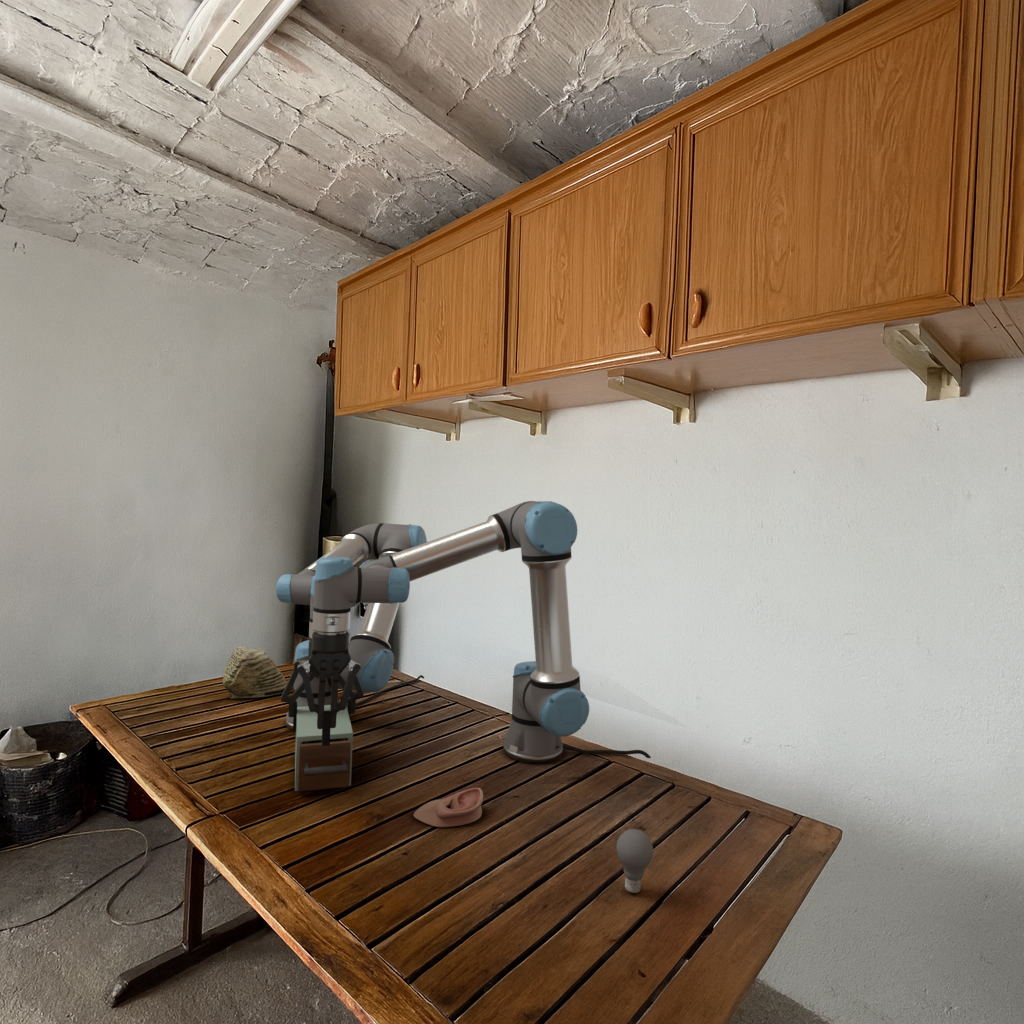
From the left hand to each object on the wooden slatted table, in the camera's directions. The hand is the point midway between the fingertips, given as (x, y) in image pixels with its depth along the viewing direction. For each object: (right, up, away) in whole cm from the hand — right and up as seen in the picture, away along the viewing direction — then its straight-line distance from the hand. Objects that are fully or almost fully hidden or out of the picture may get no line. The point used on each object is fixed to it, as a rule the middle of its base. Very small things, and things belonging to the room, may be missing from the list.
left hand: (321, 728), depth 153 cm
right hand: (+7, +4, -20) cm, 22 cm away
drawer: (+4, -7, -12) cm, 14 cm away
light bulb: (+66, -11, -47) cm, 82 cm away
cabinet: (+2, -7, -6) cm, 10 cm away
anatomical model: (+33, -9, -24) cm, 42 cm away
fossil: (-35, -5, +45) cm, 57 cm away
